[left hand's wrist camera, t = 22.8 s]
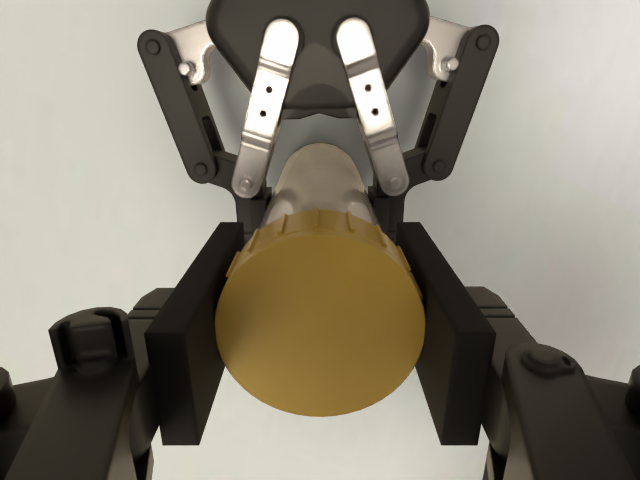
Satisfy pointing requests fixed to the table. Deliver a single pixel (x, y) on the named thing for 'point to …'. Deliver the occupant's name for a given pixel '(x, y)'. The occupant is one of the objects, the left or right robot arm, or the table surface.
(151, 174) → the table surface
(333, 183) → the jar
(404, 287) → the lid
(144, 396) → the left robot arm
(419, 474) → the table surface
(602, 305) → the table surface
